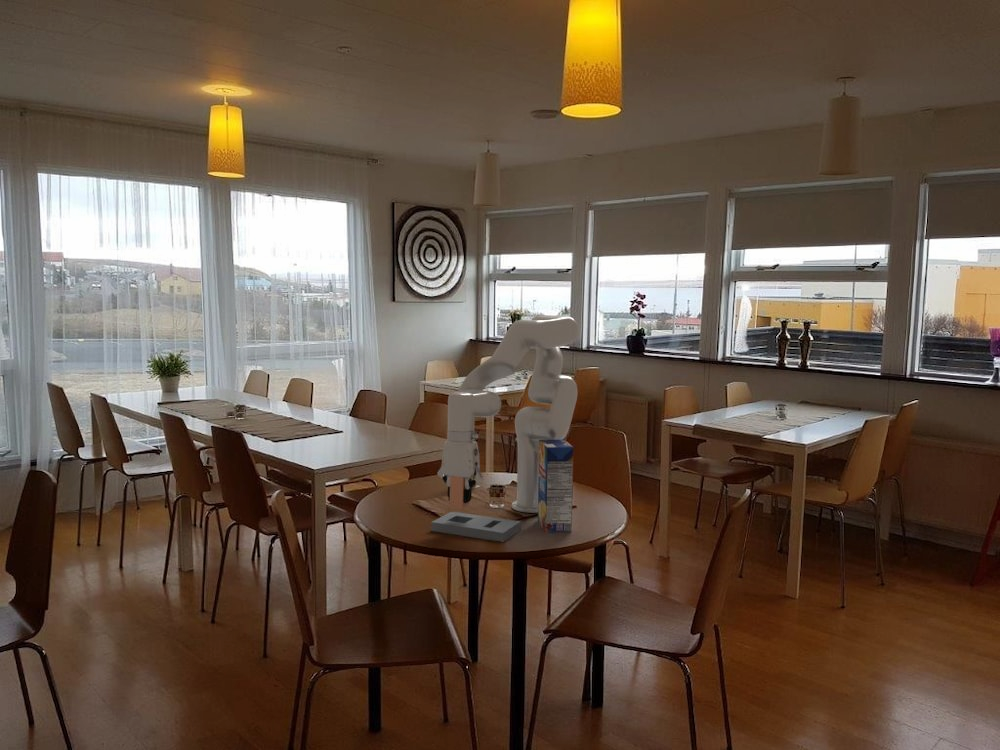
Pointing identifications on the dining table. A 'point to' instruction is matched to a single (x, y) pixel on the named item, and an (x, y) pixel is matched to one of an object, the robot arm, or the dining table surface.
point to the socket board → (476, 526)
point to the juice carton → (555, 485)
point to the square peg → (457, 492)
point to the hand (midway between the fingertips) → (459, 500)
